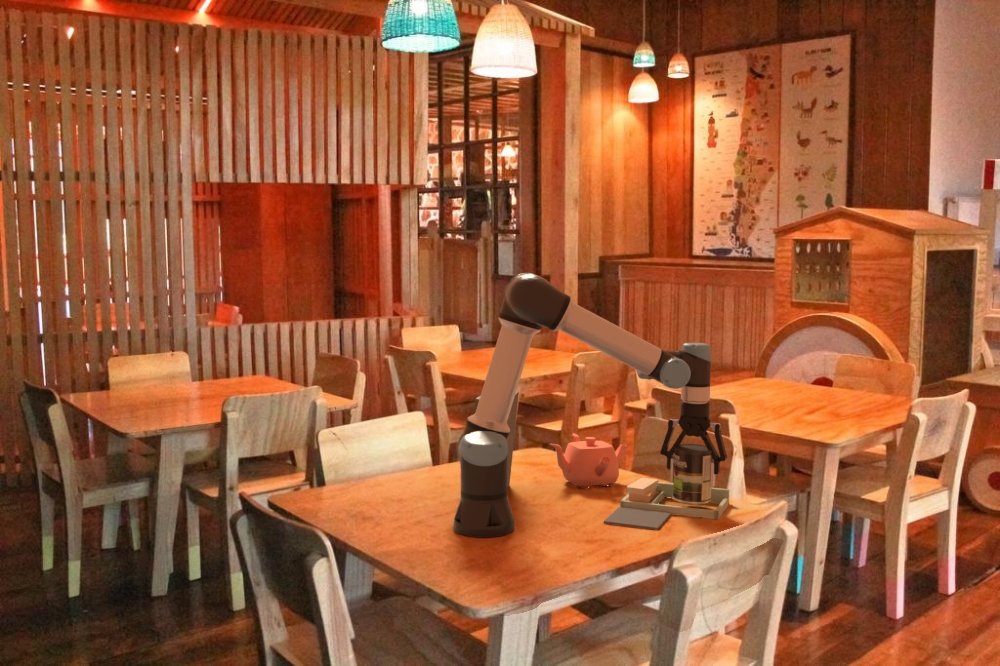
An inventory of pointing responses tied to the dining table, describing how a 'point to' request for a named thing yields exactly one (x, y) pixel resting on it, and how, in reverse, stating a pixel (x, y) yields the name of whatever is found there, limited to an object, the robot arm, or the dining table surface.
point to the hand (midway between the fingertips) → (692, 483)
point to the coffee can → (692, 474)
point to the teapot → (590, 461)
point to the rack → (652, 492)
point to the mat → (637, 518)
